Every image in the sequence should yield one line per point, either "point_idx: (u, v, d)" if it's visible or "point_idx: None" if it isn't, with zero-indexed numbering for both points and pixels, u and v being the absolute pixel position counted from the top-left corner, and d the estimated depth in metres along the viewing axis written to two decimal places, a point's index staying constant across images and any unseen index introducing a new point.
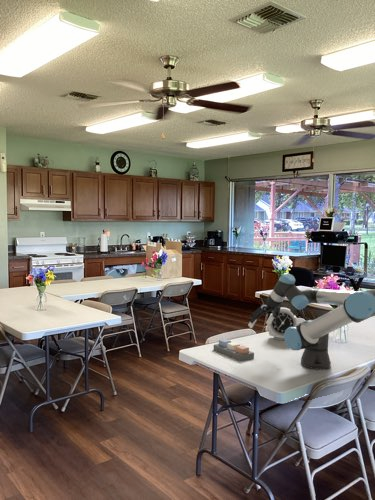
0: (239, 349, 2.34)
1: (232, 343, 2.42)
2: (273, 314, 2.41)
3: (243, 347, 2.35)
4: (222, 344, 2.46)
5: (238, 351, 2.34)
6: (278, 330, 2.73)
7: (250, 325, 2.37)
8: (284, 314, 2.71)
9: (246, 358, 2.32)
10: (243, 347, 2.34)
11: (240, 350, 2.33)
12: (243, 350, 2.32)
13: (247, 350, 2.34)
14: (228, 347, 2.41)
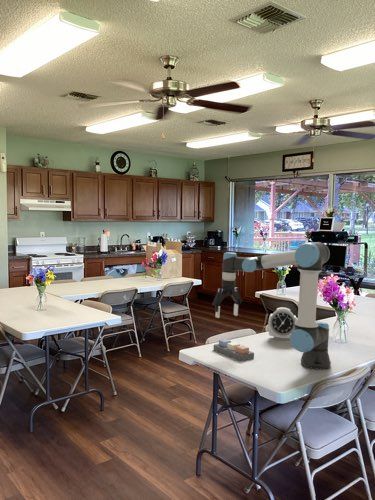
0: (239, 349, 2.34)
1: (232, 343, 2.42)
2: (235, 301, 2.49)
3: (243, 347, 2.35)
4: (222, 344, 2.46)
5: (238, 351, 2.34)
6: (278, 330, 2.73)
7: (217, 315, 2.43)
8: (284, 314, 2.71)
9: (246, 358, 2.32)
10: (243, 347, 2.34)
11: (240, 350, 2.33)
12: (243, 350, 2.32)
13: (247, 350, 2.34)
14: (228, 347, 2.41)
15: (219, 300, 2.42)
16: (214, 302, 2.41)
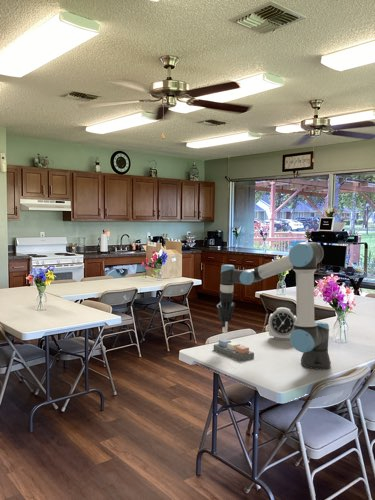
0: (239, 349, 2.34)
1: (232, 343, 2.42)
2: (226, 316, 2.47)
3: (243, 347, 2.35)
4: (222, 344, 2.46)
5: (238, 351, 2.34)
6: (278, 330, 2.73)
7: (224, 330, 2.47)
8: (284, 314, 2.71)
9: (246, 358, 2.32)
10: (243, 347, 2.34)
11: (240, 350, 2.33)
12: (243, 350, 2.32)
13: (247, 350, 2.34)
14: (228, 347, 2.41)
15: (223, 315, 2.45)
16: (220, 318, 2.44)
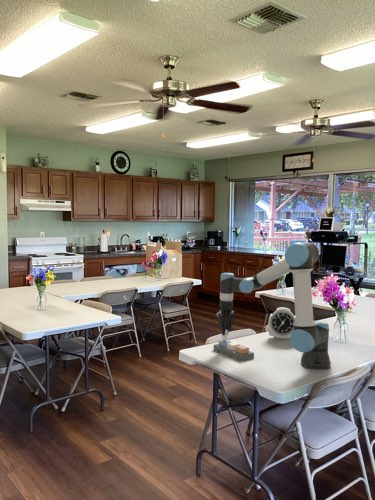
0: (239, 349, 2.34)
1: (232, 343, 2.42)
2: (226, 325, 2.47)
3: (243, 347, 2.35)
4: (222, 345, 2.46)
5: (238, 351, 2.34)
6: (278, 330, 2.73)
7: (224, 338, 2.47)
8: (284, 314, 2.71)
9: (246, 358, 2.32)
10: (243, 347, 2.34)
11: (240, 350, 2.33)
12: (243, 350, 2.32)
13: (247, 350, 2.34)
14: (228, 347, 2.41)
15: (223, 323, 2.45)
16: (220, 326, 2.45)
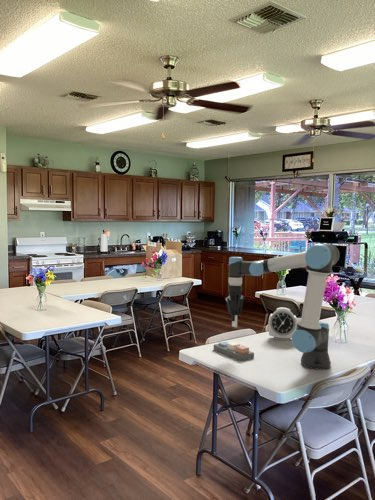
0: (239, 349, 2.34)
1: (232, 343, 2.42)
2: (236, 310, 2.41)
3: (243, 347, 2.35)
4: None
5: (238, 351, 2.34)
6: (278, 330, 2.73)
7: (233, 324, 2.40)
8: (284, 314, 2.71)
9: (246, 358, 2.32)
10: (243, 347, 2.34)
11: (240, 350, 2.33)
12: (243, 350, 2.32)
13: (247, 350, 2.34)
14: (228, 347, 2.41)
15: (232, 309, 2.39)
16: (229, 312, 2.38)
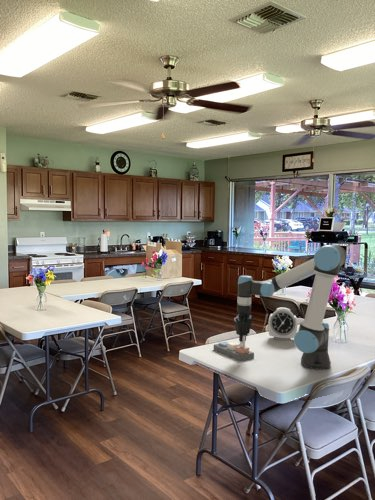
0: (239, 349, 2.34)
1: (232, 343, 2.42)
2: (244, 330, 2.35)
3: None
4: None
5: (238, 351, 2.34)
6: (278, 330, 2.73)
7: (241, 345, 2.35)
8: (284, 314, 2.72)
9: (246, 358, 2.32)
10: (243, 348, 2.34)
11: (240, 350, 2.33)
12: (243, 350, 2.32)
13: (247, 350, 2.34)
14: (228, 347, 2.41)
15: (241, 329, 2.33)
16: (237, 332, 2.32)
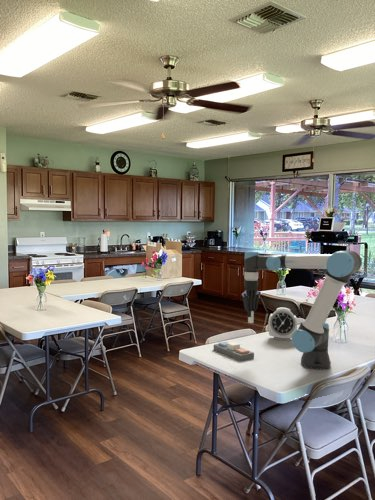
0: (239, 352, 2.34)
1: (232, 343, 2.42)
2: (252, 306, 2.35)
3: (243, 350, 2.35)
4: None
5: None
6: (278, 330, 2.73)
7: (250, 320, 2.34)
8: (284, 314, 2.71)
9: (246, 358, 2.32)
10: (243, 350, 2.34)
11: (240, 353, 2.33)
12: (243, 353, 2.33)
13: None
14: (228, 347, 2.41)
15: (249, 304, 2.33)
16: (246, 308, 2.32)
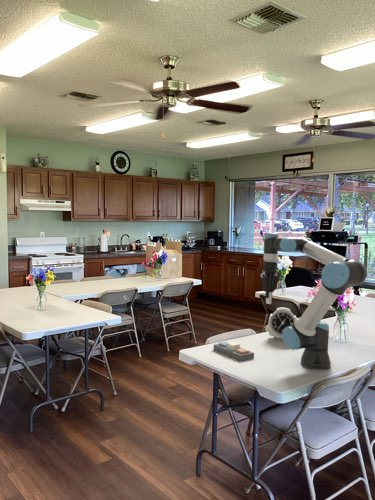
0: (239, 352, 2.34)
1: (232, 343, 2.42)
2: (270, 287, 2.38)
3: (243, 350, 2.35)
4: None
5: None
6: (278, 330, 2.73)
7: (267, 301, 2.37)
8: (284, 314, 2.71)
9: (246, 358, 2.32)
10: (243, 350, 2.34)
11: (240, 353, 2.33)
12: (243, 353, 2.33)
13: None
14: (228, 347, 2.41)
15: (267, 285, 2.36)
16: (264, 288, 2.35)
